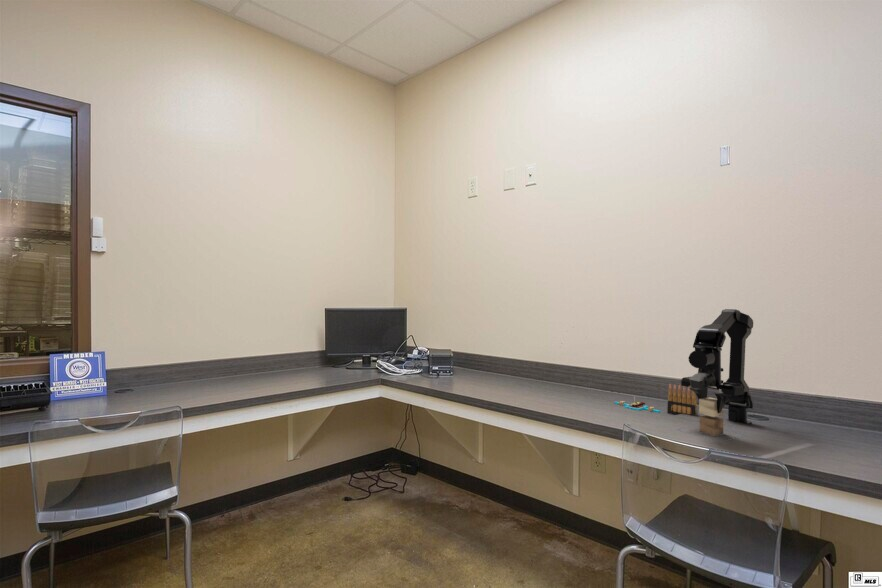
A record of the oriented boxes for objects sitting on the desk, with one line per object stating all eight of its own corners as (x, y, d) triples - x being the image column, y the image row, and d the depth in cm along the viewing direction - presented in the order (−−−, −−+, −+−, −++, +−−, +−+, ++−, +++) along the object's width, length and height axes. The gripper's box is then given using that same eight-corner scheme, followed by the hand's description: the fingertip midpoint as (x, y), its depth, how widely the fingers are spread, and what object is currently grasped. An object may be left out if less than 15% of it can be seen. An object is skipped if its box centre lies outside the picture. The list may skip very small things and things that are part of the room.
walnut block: (708, 429, 156) (708, 414, 156) (723, 433, 152) (723, 418, 152) (699, 431, 154) (699, 416, 154) (713, 435, 150) (713, 420, 150)
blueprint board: (704, 426, 164) (703, 423, 164) (750, 438, 149) (750, 435, 149) (674, 432, 157) (674, 429, 157) (719, 446, 142) (719, 443, 142)
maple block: (708, 411, 156) (708, 397, 156) (723, 415, 152) (723, 400, 152) (699, 413, 154) (699, 398, 154) (713, 417, 150) (713, 401, 150)
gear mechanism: (622, 402, 202) (609, 405, 196) (621, 390, 202) (609, 393, 196) (666, 411, 186) (654, 415, 180) (666, 398, 186) (654, 401, 180)
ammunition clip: (697, 417, 174) (697, 386, 174) (695, 418, 173) (695, 387, 173) (669, 412, 183) (668, 382, 183) (667, 413, 181) (666, 383, 181)
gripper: (670, 363, 158) (670, 407, 158) (723, 371, 141) (723, 421, 141) (691, 360, 163) (691, 404, 163) (745, 368, 146) (745, 416, 146)
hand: (711, 411), depth 153 cm, fingers closed on maple block, 5 cm apart
